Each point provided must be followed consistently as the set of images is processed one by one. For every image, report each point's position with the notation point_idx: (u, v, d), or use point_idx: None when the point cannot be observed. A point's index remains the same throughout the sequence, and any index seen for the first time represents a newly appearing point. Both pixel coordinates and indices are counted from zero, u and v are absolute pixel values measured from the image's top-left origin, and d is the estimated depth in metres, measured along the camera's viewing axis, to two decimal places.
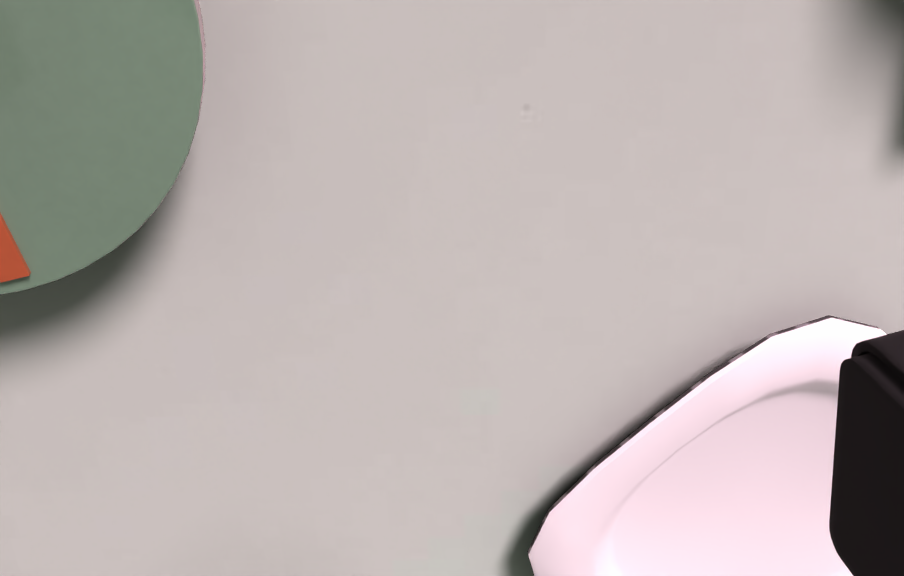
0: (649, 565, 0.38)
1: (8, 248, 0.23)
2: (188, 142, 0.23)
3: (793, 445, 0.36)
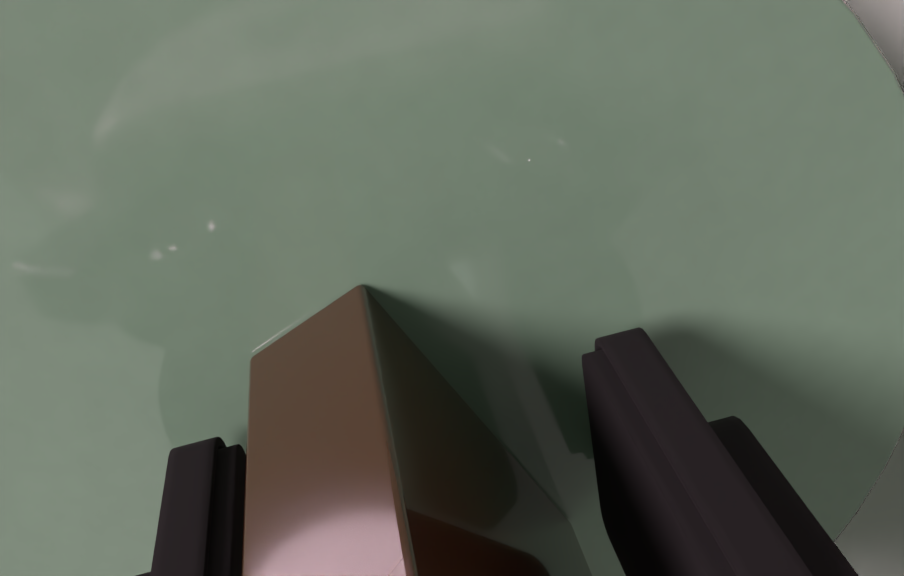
0: None
1: None
2: None
3: None
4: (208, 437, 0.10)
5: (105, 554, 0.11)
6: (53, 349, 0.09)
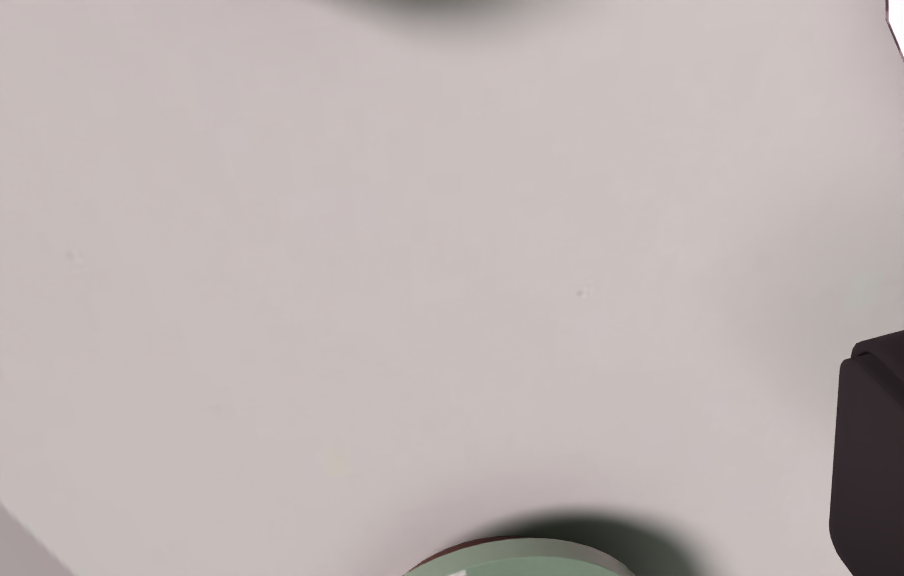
0: None
1: None
2: None
3: None
4: None
5: None
6: None
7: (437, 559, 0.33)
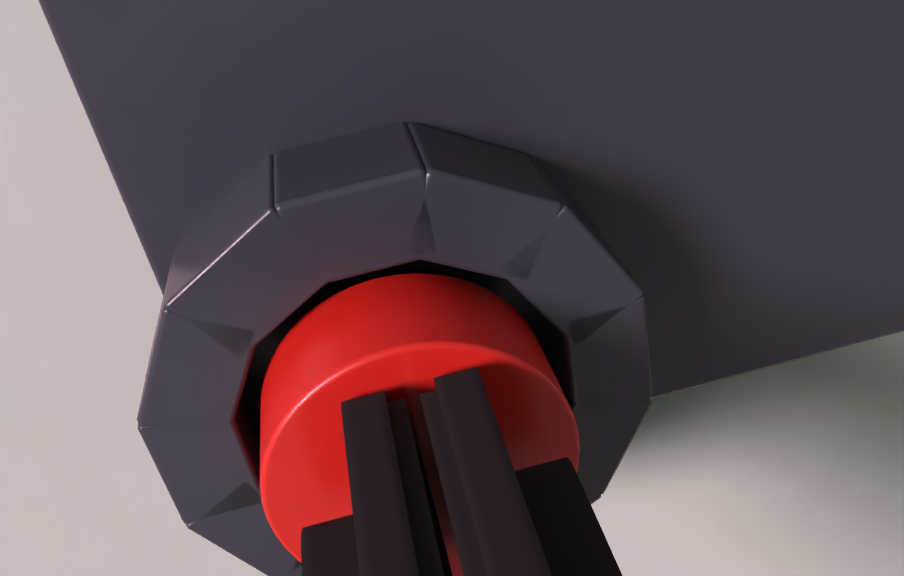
0: None
1: None
2: None
3: None
4: None
5: None
6: None
7: None
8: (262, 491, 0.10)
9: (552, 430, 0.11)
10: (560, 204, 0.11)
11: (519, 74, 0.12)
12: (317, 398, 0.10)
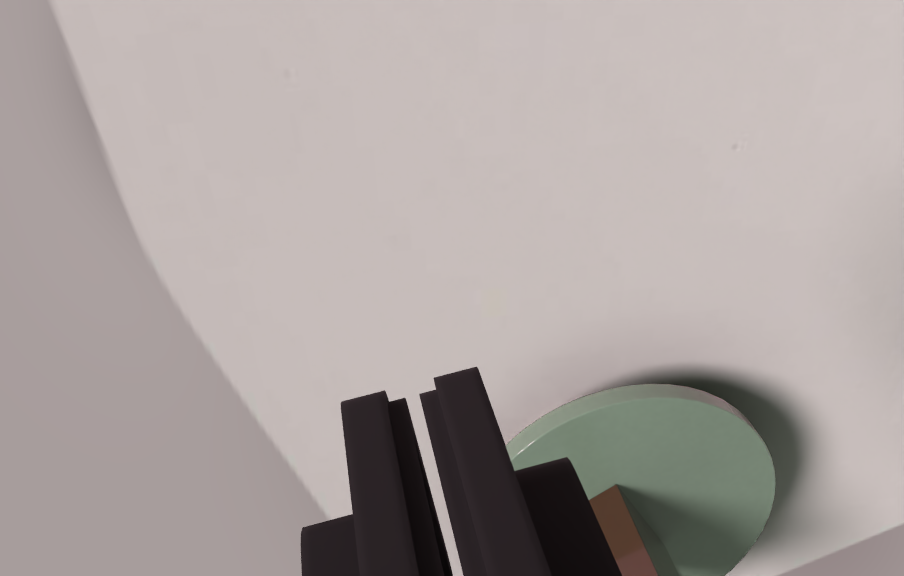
0: None
1: None
2: (770, 508, 0.39)
3: None
4: None
5: None
6: None
7: (581, 398, 0.35)
8: None
9: None
10: None
11: None
12: None
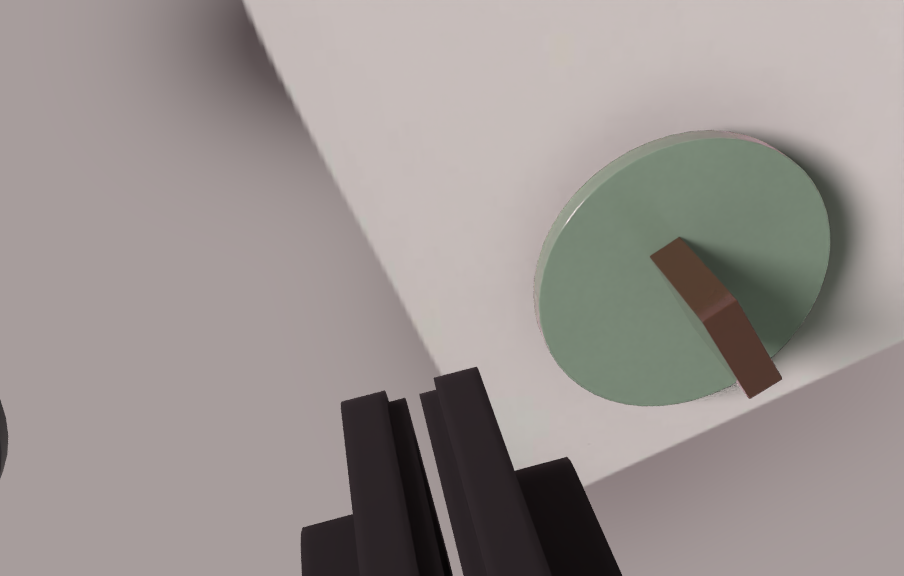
0: None
1: None
2: (824, 273, 0.41)
3: None
4: (634, 278, 0.39)
5: (599, 313, 0.40)
6: (605, 253, 0.38)
7: (647, 143, 0.37)
8: None
9: None
10: None
11: None
12: None
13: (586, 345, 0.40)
